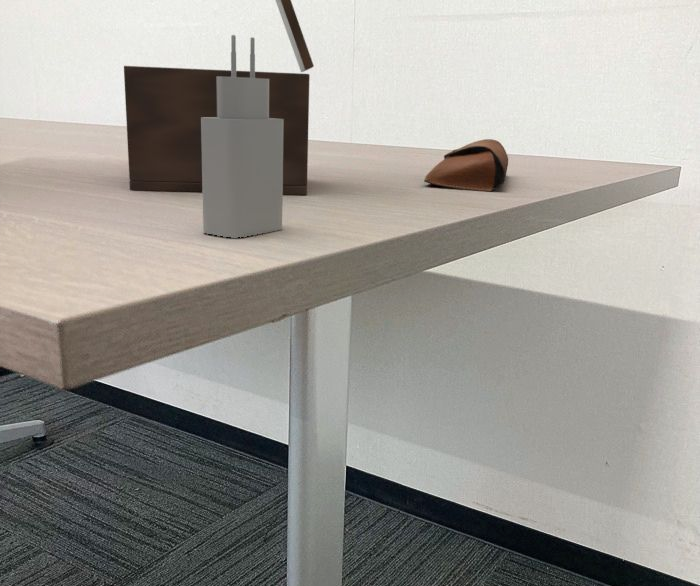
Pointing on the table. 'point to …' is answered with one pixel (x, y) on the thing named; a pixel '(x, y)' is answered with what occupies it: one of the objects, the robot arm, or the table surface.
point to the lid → (295, 34)
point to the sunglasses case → (472, 167)
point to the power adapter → (242, 157)
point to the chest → (185, 125)
